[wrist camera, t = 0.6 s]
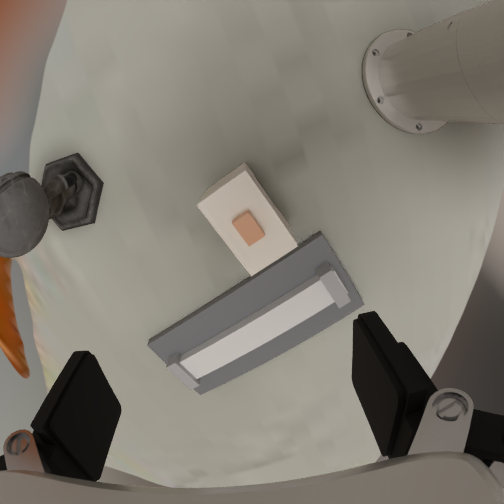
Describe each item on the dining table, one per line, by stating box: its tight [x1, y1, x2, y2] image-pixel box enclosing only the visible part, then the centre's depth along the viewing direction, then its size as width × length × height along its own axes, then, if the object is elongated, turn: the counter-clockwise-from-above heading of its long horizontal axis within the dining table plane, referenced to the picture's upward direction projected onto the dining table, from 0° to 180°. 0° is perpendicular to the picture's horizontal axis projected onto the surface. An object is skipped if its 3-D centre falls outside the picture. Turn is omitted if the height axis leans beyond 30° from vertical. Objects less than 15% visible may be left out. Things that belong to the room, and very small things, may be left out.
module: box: [197, 162, 298, 276], centre depth 30 cm, size 5×8×9 cm, turn 35°
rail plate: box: [147, 232, 365, 395], centre depth 38 cm, size 26×11×3 cm, turn 125°
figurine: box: [0, 153, 104, 258], centre depth 26 cm, size 9×10×15 cm
